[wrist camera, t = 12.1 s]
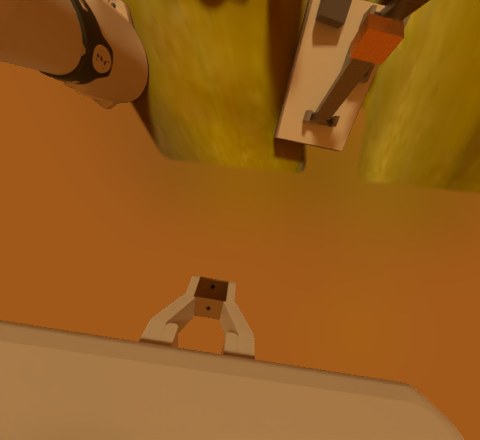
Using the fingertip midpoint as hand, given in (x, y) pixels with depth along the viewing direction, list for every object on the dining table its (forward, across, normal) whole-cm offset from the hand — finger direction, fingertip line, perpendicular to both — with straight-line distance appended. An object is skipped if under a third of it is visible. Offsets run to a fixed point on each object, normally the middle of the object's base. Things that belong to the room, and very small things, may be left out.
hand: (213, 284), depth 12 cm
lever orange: (+32, -14, -14) cm, 38 cm away
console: (+37, -14, -20) cm, 45 cm away
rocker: (+32, -10, -29) cm, 44 cm away
